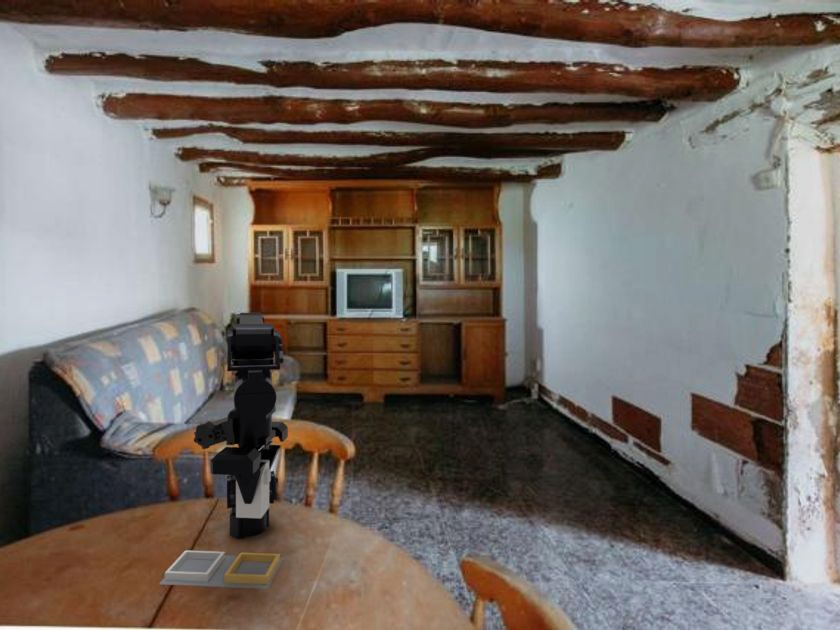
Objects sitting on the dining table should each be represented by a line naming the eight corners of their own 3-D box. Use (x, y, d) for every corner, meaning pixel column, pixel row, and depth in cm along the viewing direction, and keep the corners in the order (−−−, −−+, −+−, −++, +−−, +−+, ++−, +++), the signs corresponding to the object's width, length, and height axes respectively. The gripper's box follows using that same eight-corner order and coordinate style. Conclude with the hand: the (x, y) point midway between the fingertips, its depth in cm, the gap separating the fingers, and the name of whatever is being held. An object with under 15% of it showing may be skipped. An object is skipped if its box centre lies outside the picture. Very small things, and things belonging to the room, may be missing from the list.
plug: (235, 517, 83) (235, 467, 82) (245, 506, 87) (245, 459, 86) (264, 518, 83) (265, 468, 82) (272, 507, 87) (273, 460, 86)
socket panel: (158, 587, 82) (158, 576, 81) (186, 557, 91) (186, 546, 90) (267, 592, 81) (267, 581, 81) (284, 560, 90) (284, 550, 90)
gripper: (226, 388, 93) (226, 474, 94) (173, 416, 75) (174, 522, 76) (288, 390, 93) (288, 476, 94) (251, 418, 74) (251, 525, 75)
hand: (253, 497), depth 85 cm, fingers closed on plug, 4 cm apart
